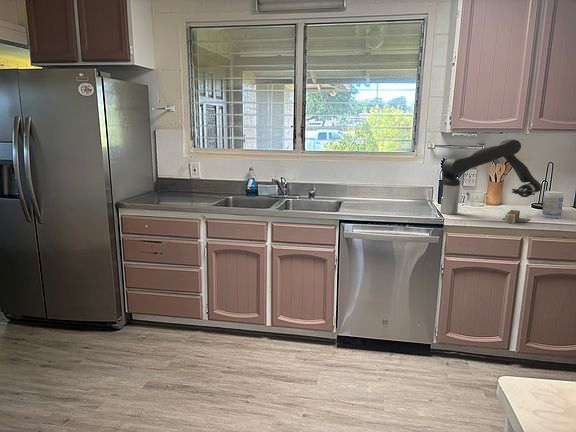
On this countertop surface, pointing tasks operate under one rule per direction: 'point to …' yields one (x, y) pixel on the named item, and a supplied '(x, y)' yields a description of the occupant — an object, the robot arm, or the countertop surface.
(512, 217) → the walnut post
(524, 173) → the robot arm
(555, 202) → the supplement tub
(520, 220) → the rubber mat
